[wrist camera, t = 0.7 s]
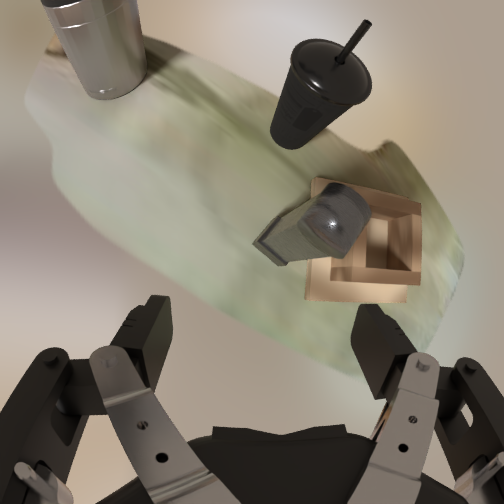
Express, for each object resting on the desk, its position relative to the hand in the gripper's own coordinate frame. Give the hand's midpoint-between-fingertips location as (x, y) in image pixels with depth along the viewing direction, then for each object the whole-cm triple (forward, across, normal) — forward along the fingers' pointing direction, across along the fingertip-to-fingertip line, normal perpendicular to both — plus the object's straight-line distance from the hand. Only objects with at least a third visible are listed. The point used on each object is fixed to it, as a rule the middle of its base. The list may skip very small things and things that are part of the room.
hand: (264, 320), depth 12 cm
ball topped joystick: (+21, -2, +4) cm, 21 cm away
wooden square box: (+22, -13, +4) cm, 26 cm away
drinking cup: (+27, -4, -9) cm, 28 cm away
